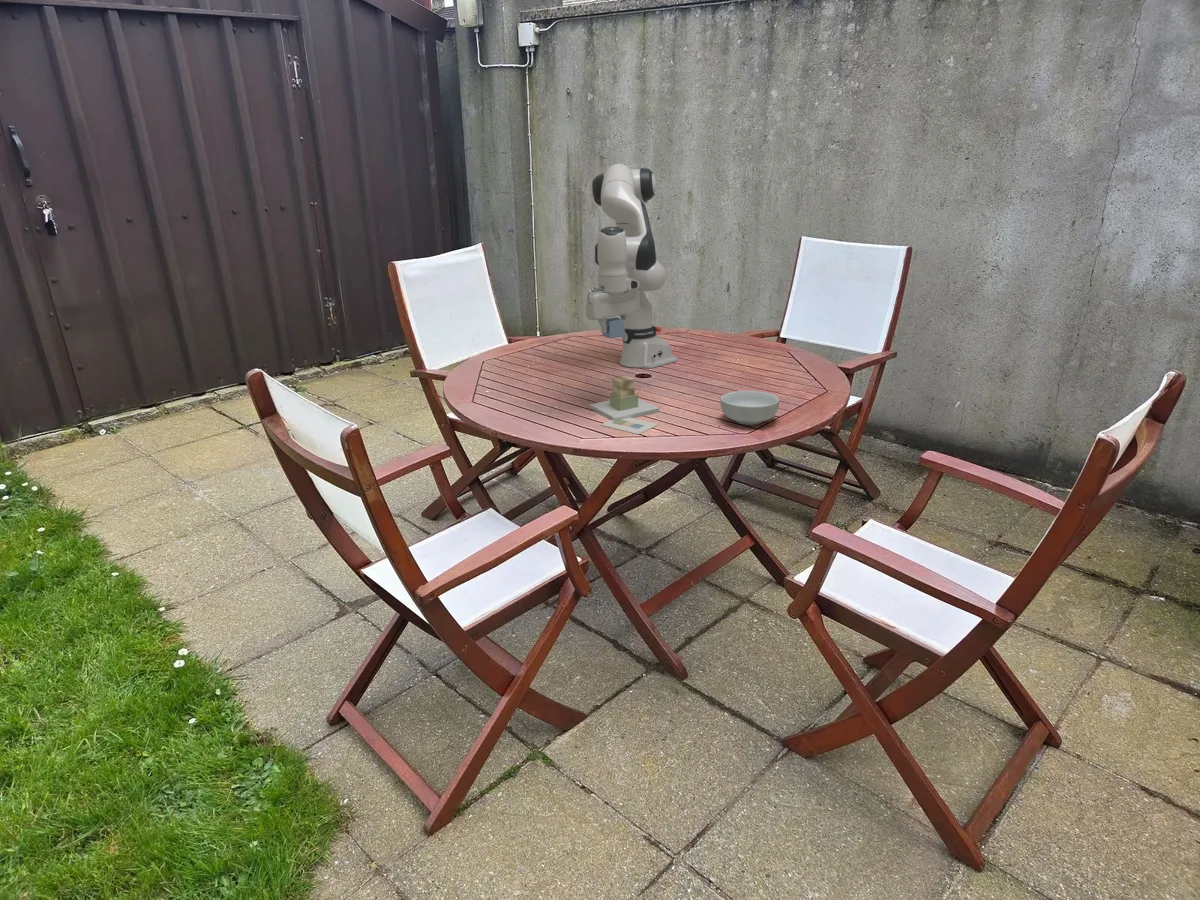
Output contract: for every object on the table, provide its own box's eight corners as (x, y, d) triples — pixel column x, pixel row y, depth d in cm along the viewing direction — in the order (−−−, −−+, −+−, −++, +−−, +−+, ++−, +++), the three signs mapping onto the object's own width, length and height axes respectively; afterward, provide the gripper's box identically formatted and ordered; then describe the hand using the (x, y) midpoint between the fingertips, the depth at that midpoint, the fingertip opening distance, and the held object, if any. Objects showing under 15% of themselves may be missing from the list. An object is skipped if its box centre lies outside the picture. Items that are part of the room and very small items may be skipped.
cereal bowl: (788, 418, 221) (789, 396, 218) (759, 434, 210) (760, 410, 207) (739, 408, 232) (740, 386, 229) (708, 422, 220) (709, 399, 218)
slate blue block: (616, 333, 230) (616, 317, 228) (624, 336, 226) (624, 320, 224) (602, 335, 228) (602, 319, 226) (609, 338, 223) (609, 321, 222)
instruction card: (621, 416, 228) (621, 415, 228) (658, 424, 220) (658, 424, 220) (600, 425, 221) (600, 424, 221) (638, 434, 213) (638, 433, 213)
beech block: (626, 390, 235) (625, 375, 233) (634, 394, 231) (634, 379, 229) (612, 393, 233) (612, 378, 231) (620, 397, 229) (620, 381, 227)
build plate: (632, 399, 244) (631, 383, 242) (659, 411, 231) (659, 395, 229) (589, 408, 237) (588, 392, 235) (615, 421, 224) (614, 405, 222)
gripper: (595, 289, 212) (596, 337, 217) (643, 281, 226) (643, 326, 231) (580, 287, 216) (581, 334, 221) (627, 279, 230) (628, 324, 235)
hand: (613, 330), depth 226 cm, fingers closed on slate blue block, 6 cm apart
